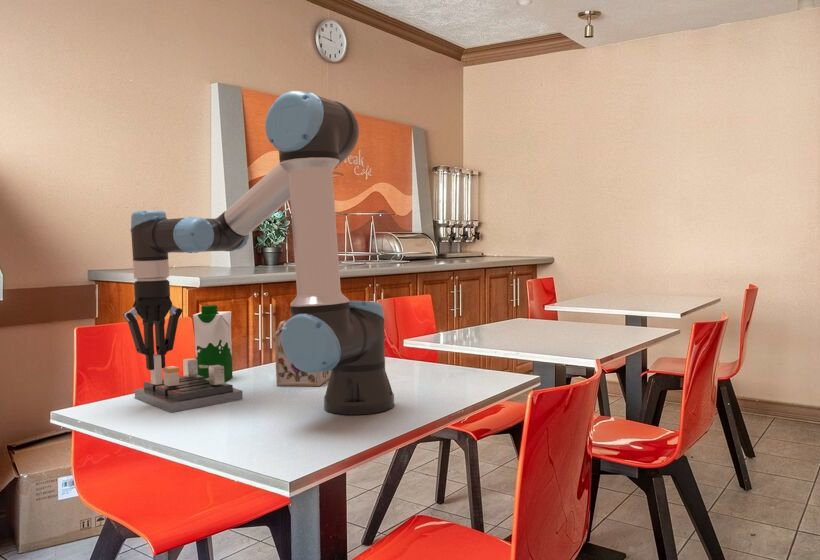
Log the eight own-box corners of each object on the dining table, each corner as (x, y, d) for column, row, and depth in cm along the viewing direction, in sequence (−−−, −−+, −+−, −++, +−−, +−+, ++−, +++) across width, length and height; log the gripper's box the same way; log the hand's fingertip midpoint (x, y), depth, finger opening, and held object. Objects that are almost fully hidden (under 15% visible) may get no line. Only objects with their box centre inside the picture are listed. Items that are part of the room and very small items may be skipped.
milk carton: (192, 383, 181) (189, 306, 179) (206, 376, 190) (203, 303, 188) (225, 383, 180) (222, 306, 178) (237, 376, 189) (234, 303, 187)
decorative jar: (320, 387, 173) (318, 314, 172) (275, 386, 175) (272, 315, 174) (333, 377, 185) (331, 309, 184) (290, 377, 186) (288, 310, 185)
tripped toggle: (179, 384, 160) (178, 367, 160) (169, 386, 159) (168, 368, 159) (174, 382, 163) (173, 365, 162) (163, 384, 161) (163, 367, 161)
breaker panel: (242, 399, 161) (241, 365, 161) (171, 412, 150) (169, 376, 149) (202, 386, 177) (201, 355, 176) (134, 397, 166) (133, 364, 165)
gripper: (172, 277, 164) (177, 376, 165) (116, 280, 155) (121, 385, 157) (186, 278, 158) (191, 381, 160) (128, 281, 150) (134, 390, 151)
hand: (156, 383), depth 158 cm, fingers closed
